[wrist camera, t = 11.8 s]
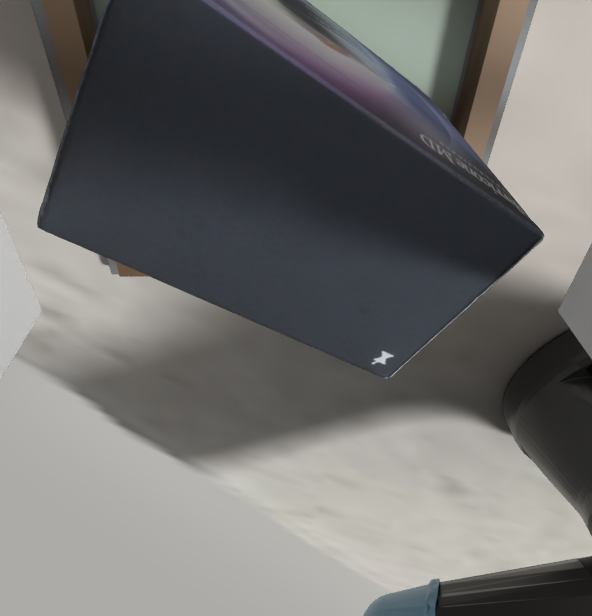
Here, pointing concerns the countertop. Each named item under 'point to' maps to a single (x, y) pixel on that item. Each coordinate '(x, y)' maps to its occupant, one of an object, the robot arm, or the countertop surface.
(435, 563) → the countertop surface
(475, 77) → the wooden picture frame
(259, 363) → the countertop surface
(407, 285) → the small box
